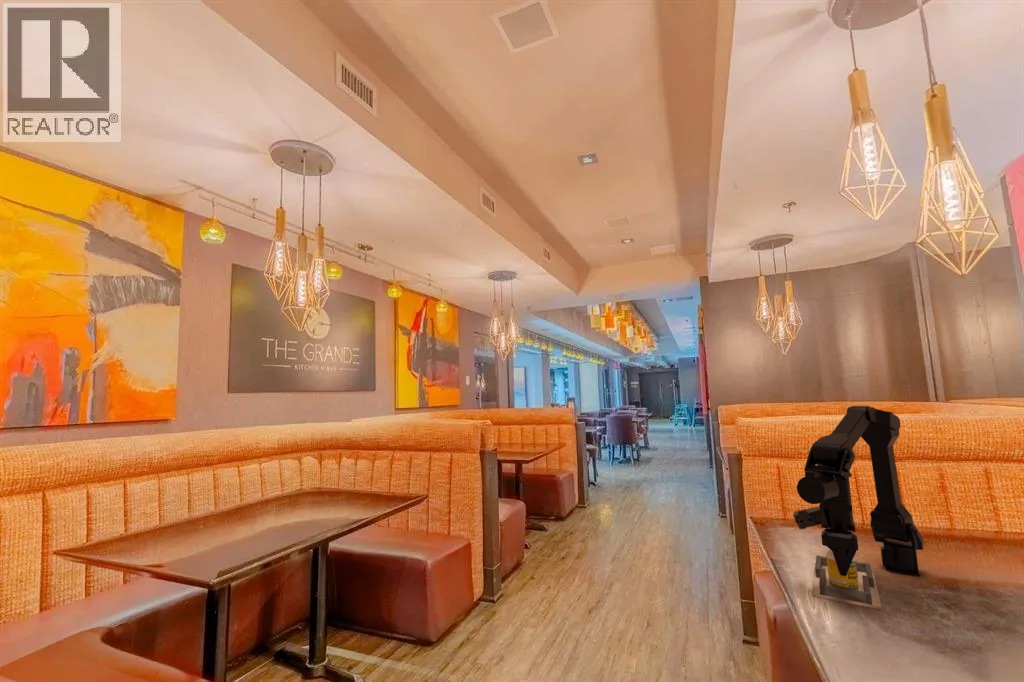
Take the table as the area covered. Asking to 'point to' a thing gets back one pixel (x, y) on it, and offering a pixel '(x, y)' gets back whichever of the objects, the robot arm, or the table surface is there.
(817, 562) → the grey flat frame
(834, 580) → the supplement bottle
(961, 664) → the table surface
